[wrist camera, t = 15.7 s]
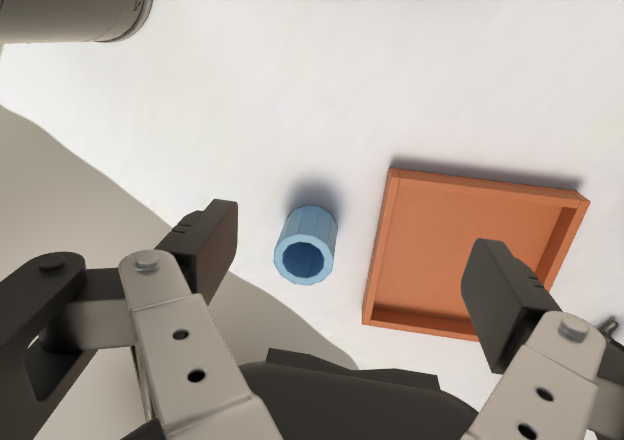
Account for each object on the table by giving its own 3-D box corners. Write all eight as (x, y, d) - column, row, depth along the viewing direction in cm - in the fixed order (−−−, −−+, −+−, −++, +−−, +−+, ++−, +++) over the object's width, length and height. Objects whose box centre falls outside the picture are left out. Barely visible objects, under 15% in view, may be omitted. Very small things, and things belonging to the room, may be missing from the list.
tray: (361, 309, 42) (361, 324, 40) (389, 167, 35) (390, 176, 32) (514, 332, 41) (523, 348, 39) (576, 190, 34) (591, 201, 31)
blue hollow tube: (284, 247, 40) (272, 280, 34) (287, 202, 37) (275, 230, 32) (333, 254, 39) (329, 289, 34) (339, 209, 37) (336, 238, 32)
